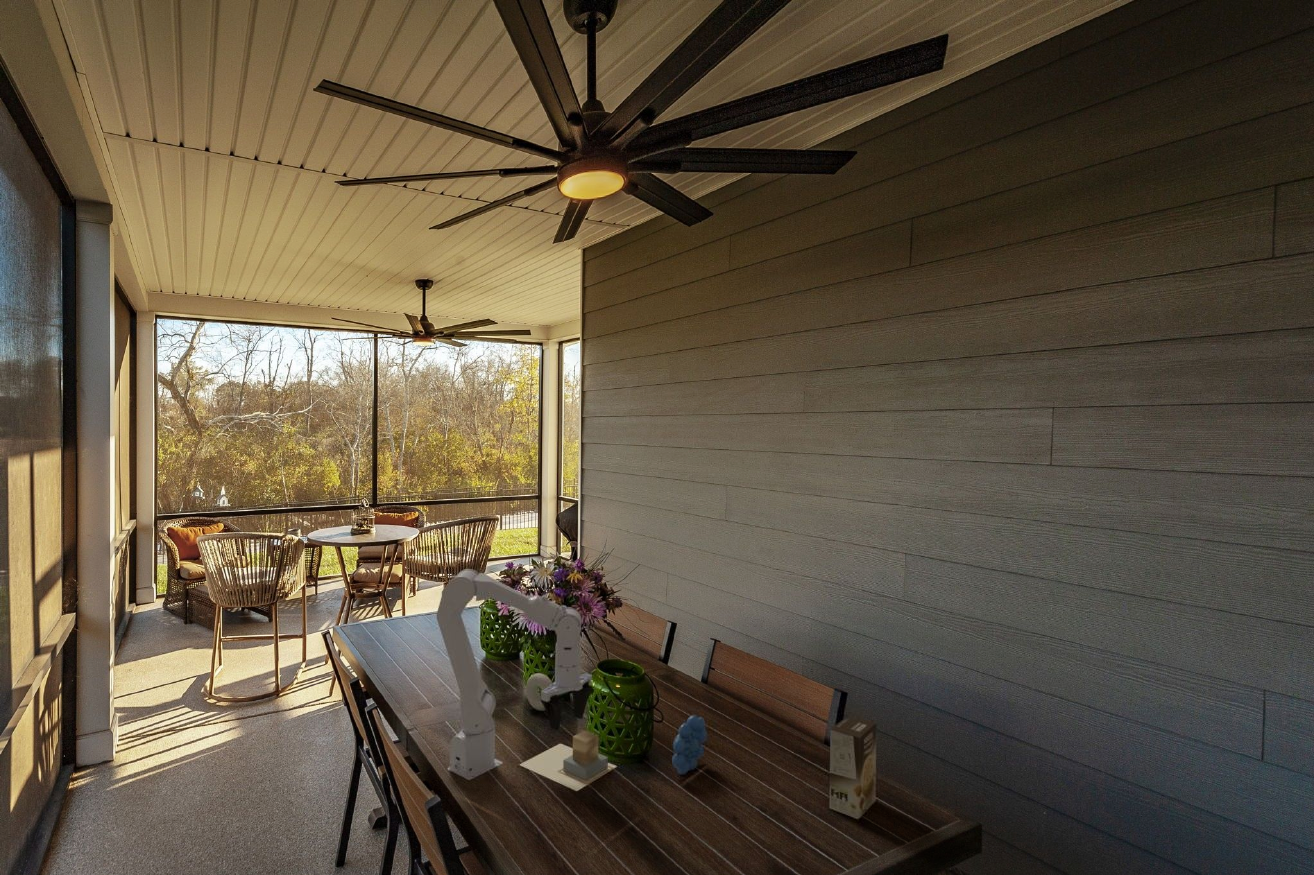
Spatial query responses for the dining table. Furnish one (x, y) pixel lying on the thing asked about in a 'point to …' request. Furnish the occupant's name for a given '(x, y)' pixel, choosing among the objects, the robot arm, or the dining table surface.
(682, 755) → the blue lumpy rounded block
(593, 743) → the maple block
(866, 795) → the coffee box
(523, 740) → the dining table surface
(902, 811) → the dining table surface
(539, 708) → the donut
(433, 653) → the dining table surface
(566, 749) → the white flat sheet
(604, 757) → the slate slab
